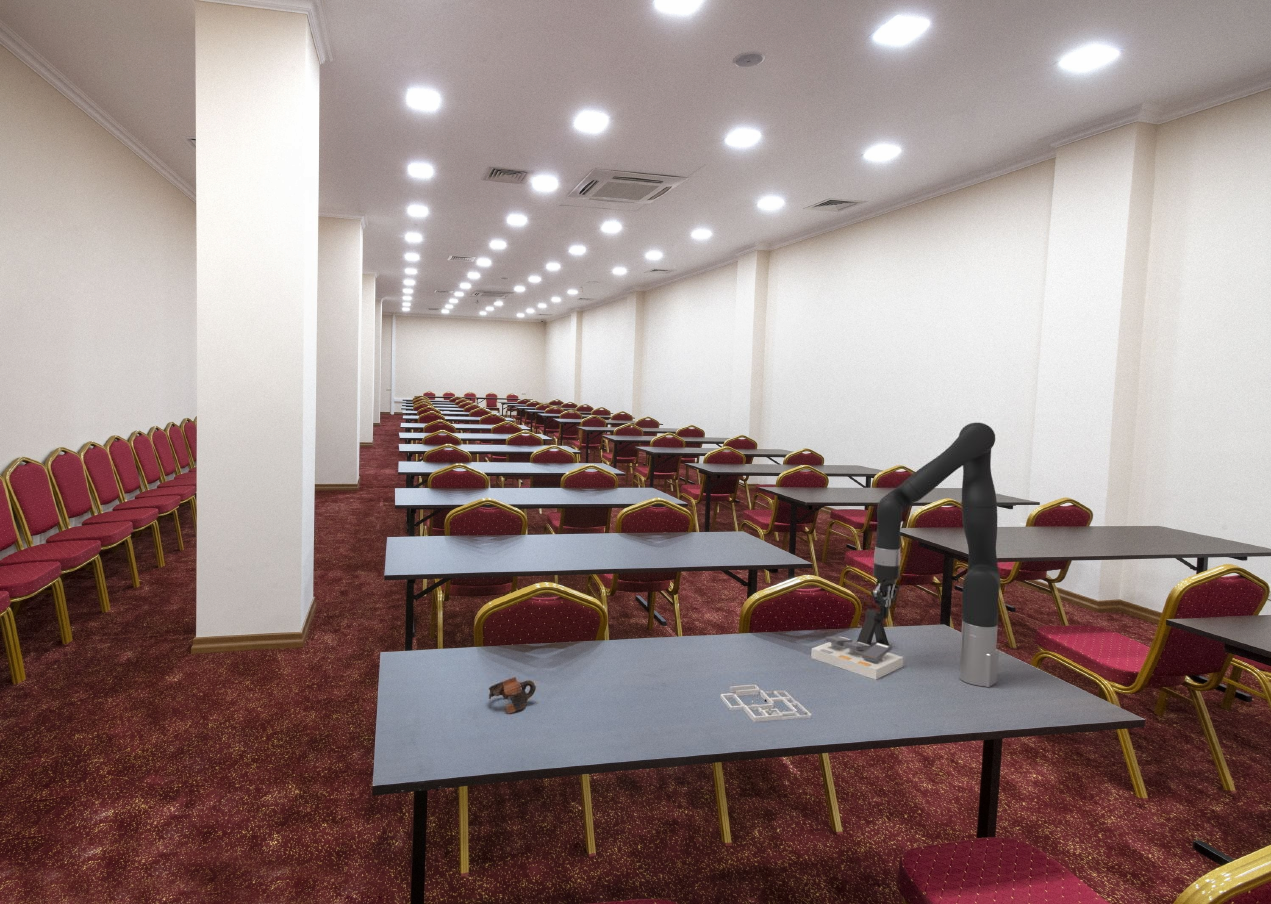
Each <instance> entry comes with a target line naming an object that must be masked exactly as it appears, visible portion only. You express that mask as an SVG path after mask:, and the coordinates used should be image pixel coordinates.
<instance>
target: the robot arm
mask: <svg viewBox="0 0 1271 904" xmlns="http://www.w3.org/2000/svg"><path fill="white" fill-rule="evenodd" d="M995 444H996V434H995V431H994V430H993V428H992V427H991V426H989V425H988V424H986V423H983V422H970V423H968V424H965V426H963V427H962V428H961V429H960V432H959V434H958V437H957V438H955V440H954V441H953V442H951V444H950V446H948V447H947V448H946V449H945V450H943V452H941V453H940V454H939V455H937V456H936V457H935V458H933V459H932V460H931V461H928V462H927V463H926V464H924V465H923V466H921V467H920V468H919V469H917V471H914V473H913V474H911V475H910V476H909V477H907V478H906V479H905V480H904V481H903V482H902V483H901V484H900V485H898V486H897V487H896V488H894V489H893V490H891V491H890V492H888V493H887V494H886V495H884V496H883V497H882V498H880V500H879V501H878V504H877V510H876V511H877V514H876V518H877V520H876V524H877V525H876V526H877V527H876V528H877V529H876V535H875V546H874V547H875V548H874V553H873V555H874V556H873V570H872V575H873V577H874V578H875V579H876V583H875V587H876V588H875V589H872V590H871V591H870V593H871V596H872V598H873V600H874V603H875V605H877V606H879V612H878V613H879V617H880V618H882V619H883V620H886V619H889V614H890V613H889V610H890V607H891V604H894V602H895V599H896V597H897V594H898V592H899V589H900V586H899V585H897V584H896V580H899V579H900V572H901V571H900V570H901V539H902V538H901V537H902V536H901V525H902V518H903V517H902V516H903V512H905V510H907V509H908V508H909V507H910V506H912V505H913V504H915V503H917V502H919V501H920V500H922V499H923V498H925V496H927V495H928V494H929V493H930V492H932V491H933V490H934V489H936V488H937V487H938V486H939V485H940V484H941V483H942V482H944V481H945V480H946V479H947V478H948V477H949V476H951V475H952V474H953V473H954V472H956V471H957V470H958V469H960V468H961V467H962V469H963V470H962V485H961V486H962V487H961V519H962V525H963V531H964V535H965V539H966V544H967V548H968V549H967V550H968V551H967V552H968V559H967V560H968V562H967V563H968V564H967V572H966V575H965V577H964V578H963V582H962V598H961V613H962V619H961V620H962V621H961V635H960V636H961V638H960V640H961V641H960V656H959V672H958V673H959V674H958V677H959V679H960V680H961V681H963V682H965V683H966V684H969V685H973V686H980V687H987V688H990V687H992V686H994V685H995V684H996V683H998V671H999V654H1000V653H999V650H998V649H997V642H998V640H997V639H998V623H999V622H998V621H999V616H998V615H999V614H998V613H999V612H998V611H999V596H1000V595H999V593H1000V590H1001V589H1000V588H1001V585H1002V583H1001V576H1000V571H999V565H998V557H997V538H998V501H997V494H996V488H995V484H994V480H993V477H992V468H991V467H992V465H991V463H992V462H991V460H992V449H993V447H994V445H995Z"/></svg>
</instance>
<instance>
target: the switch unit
mask: <svg viewBox="0 0 1271 904" xmlns="http://www.w3.org/2000/svg"><path fill="white" fill-rule="evenodd" d="M865 651H867V650H853V649H850V648H846V647H843V644H840V645H837V644H833V643H830V642H825V643H822V644H820V645H818V646H817V645H816V646H815V647H811V652H810V653H811V655H810V657H811V659H813V660H816V661H819V662H822V663H825V664H827V665H830V666H833V667H837V668H840V669H843V670H846V671H849V672H852V673H855V674H857V675H861V676H864V677H866V678H867V677H868V678H869V679H872V680H878V679H880V678H882V677H884V676H886V675H889V674H891V673H893V672H894V671H897V670H899V669H901V668H903V667H904V656H901V655H897V654H895V653H891V652H888V653H886V654H885V655H884V656H883V657H881V658H880V659H879V660H878V661H876V662H873V661H870V660H867V659H864V658H862V654H863V653H864V652H865Z"/></svg>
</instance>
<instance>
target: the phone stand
mask: <svg viewBox="0 0 1271 904" xmlns="http://www.w3.org/2000/svg"><path fill="white" fill-rule="evenodd" d="M883 620H884V619H882V618H880V617H879V612H878V611H876V610H875V609H873V608H868V609H866V611H865V619H864V622H863V625H862V627H861V629H860V632H859V635H858V637H857V639H856V642H861V643H864V644H868V645H871V647H872V646H873V645H875V644H876V643H881V644H884V645H887V646H890V643H889V640H888V637H887V634H886V629H885V627H884V624H883ZM873 637H875V641H874V642H872V641H873V639H874V638H873Z"/></svg>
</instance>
